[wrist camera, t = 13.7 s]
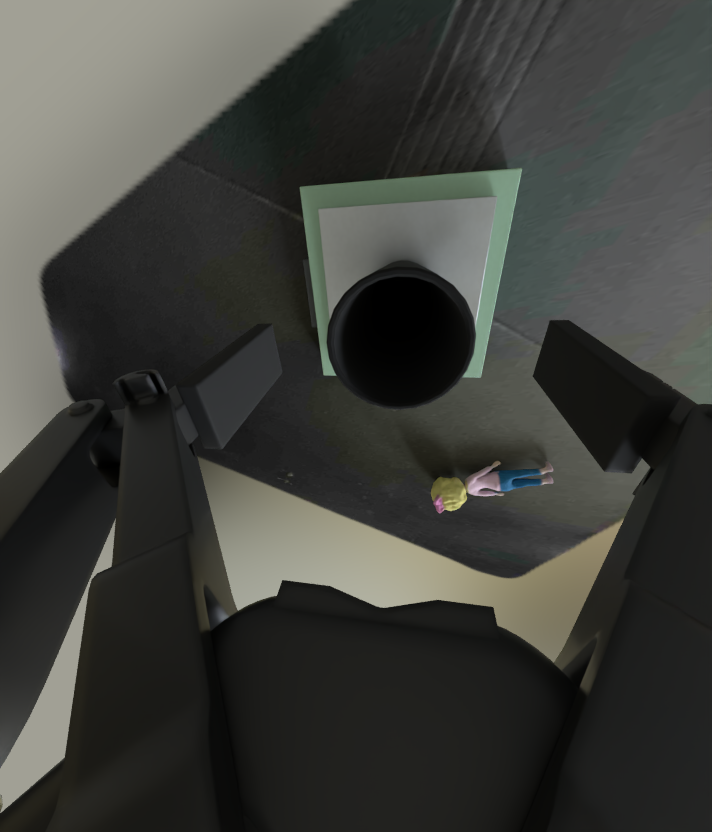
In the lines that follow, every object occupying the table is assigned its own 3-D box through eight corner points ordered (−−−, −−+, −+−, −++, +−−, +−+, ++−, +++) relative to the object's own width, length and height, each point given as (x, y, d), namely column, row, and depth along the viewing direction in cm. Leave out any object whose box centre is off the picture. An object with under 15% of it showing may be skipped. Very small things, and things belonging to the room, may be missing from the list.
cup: (344, 264, 24) (302, 298, 15) (438, 229, 22) (463, 240, 12) (372, 349, 28) (354, 421, 18) (455, 326, 26) (484, 394, 16)
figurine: (545, 445, 37) (425, 467, 41) (562, 470, 33) (429, 492, 37) (545, 479, 40) (433, 497, 43) (561, 505, 36) (437, 522, 40)
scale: (301, 190, 25) (290, 187, 23) (510, 172, 23) (522, 167, 20) (323, 363, 34) (316, 375, 32) (475, 365, 32) (480, 377, 29)
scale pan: (320, 208, 23) (317, 208, 23) (495, 196, 21) (498, 195, 21) (335, 362, 30) (334, 366, 30) (467, 363, 28) (468, 367, 28)
